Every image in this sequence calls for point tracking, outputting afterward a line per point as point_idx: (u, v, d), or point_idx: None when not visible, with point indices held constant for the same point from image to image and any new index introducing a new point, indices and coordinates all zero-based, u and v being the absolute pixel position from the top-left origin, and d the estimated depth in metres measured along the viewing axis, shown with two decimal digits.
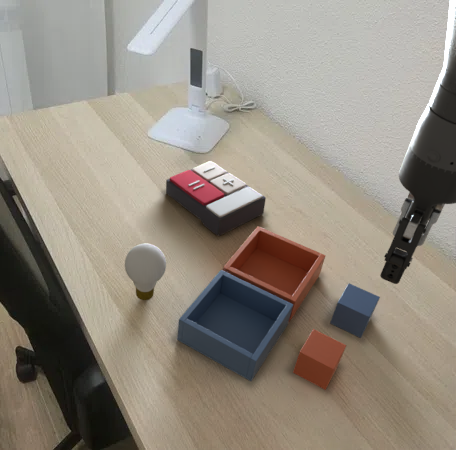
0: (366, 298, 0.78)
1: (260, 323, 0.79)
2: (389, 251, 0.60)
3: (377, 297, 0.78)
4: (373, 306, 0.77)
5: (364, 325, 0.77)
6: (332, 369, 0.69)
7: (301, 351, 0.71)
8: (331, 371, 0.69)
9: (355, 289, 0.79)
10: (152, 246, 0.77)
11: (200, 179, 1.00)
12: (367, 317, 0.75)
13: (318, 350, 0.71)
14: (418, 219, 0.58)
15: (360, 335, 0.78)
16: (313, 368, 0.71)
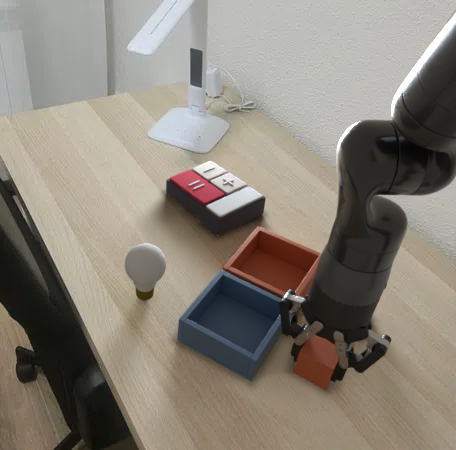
0: None
1: (260, 323, 0.79)
2: None
3: None
4: None
5: None
6: (332, 369, 0.69)
7: (301, 351, 0.71)
8: (331, 371, 0.69)
9: None
10: (152, 246, 0.77)
11: (200, 179, 1.00)
12: None
13: (318, 350, 0.71)
14: (293, 299, 0.69)
15: None
16: (313, 368, 0.71)
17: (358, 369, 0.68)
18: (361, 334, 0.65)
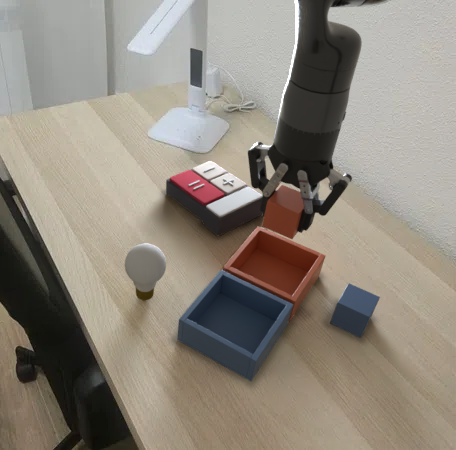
0: (366, 298, 0.78)
1: (260, 323, 0.79)
2: None
3: (377, 297, 0.78)
4: (373, 306, 0.77)
5: (364, 325, 0.77)
6: (297, 214, 0.73)
7: (269, 200, 0.74)
8: (296, 216, 0.73)
9: (355, 289, 0.79)
10: (152, 246, 0.77)
11: (200, 179, 1.00)
12: (367, 317, 0.75)
13: (285, 199, 0.75)
14: (261, 148, 0.73)
15: (360, 335, 0.78)
16: (280, 217, 0.74)
17: (322, 211, 0.71)
18: (323, 171, 0.68)
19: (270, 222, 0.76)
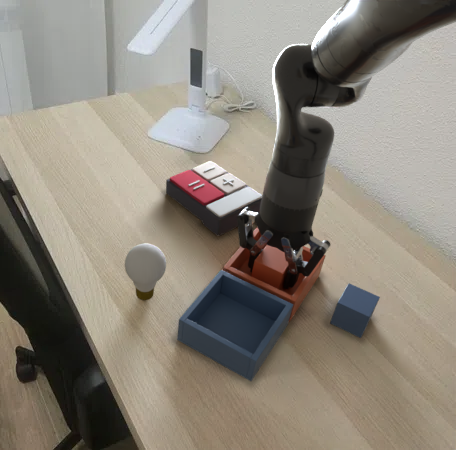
0: (366, 298, 0.78)
1: (260, 323, 0.79)
2: None
3: (377, 297, 0.78)
4: (373, 306, 0.77)
5: (364, 325, 0.77)
6: (281, 273, 0.80)
7: (256, 260, 0.82)
8: (280, 275, 0.81)
9: (355, 289, 0.79)
10: (152, 246, 0.77)
11: (200, 179, 1.00)
12: (367, 317, 0.75)
13: (271, 259, 0.82)
14: (249, 214, 0.81)
15: (360, 335, 0.78)
16: (266, 275, 0.82)
17: (305, 273, 0.79)
18: (303, 239, 0.76)
19: (257, 278, 0.84)
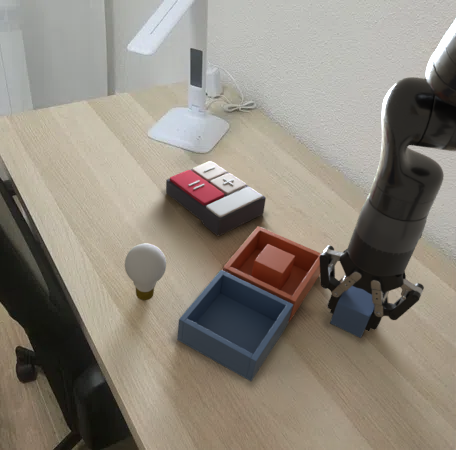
0: (366, 298, 0.78)
1: (260, 323, 0.79)
2: None
3: None
4: (373, 306, 0.77)
5: (364, 325, 0.77)
6: (281, 273, 0.80)
7: (256, 260, 0.82)
8: (280, 275, 0.81)
9: (355, 289, 0.79)
10: (152, 246, 0.77)
11: (200, 179, 1.00)
12: (367, 317, 0.75)
13: (271, 259, 0.82)
14: (333, 253, 0.76)
15: (360, 335, 0.78)
16: (266, 275, 0.82)
17: (392, 316, 0.74)
18: (397, 282, 0.71)
19: (257, 278, 0.84)
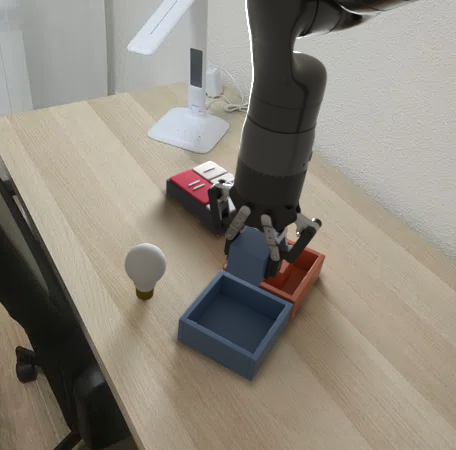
0: (264, 240, 0.67)
1: (260, 323, 0.79)
2: None
3: None
4: None
5: (260, 271, 0.66)
6: (281, 273, 0.80)
7: None
8: (280, 275, 0.81)
9: (253, 232, 0.69)
10: (152, 246, 0.77)
11: (200, 179, 1.00)
12: (261, 260, 0.65)
13: None
14: (222, 187, 0.65)
15: (257, 283, 0.67)
16: None
17: (289, 259, 0.64)
18: (289, 216, 0.61)
19: None
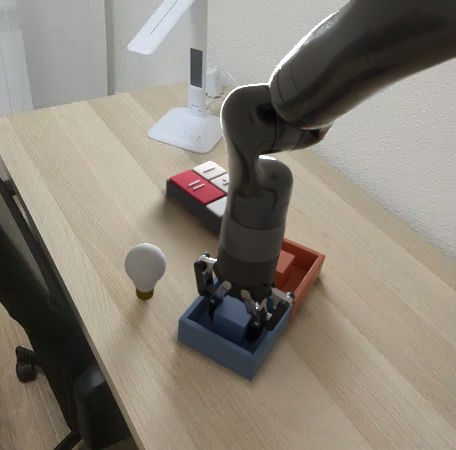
0: (245, 307, 0.75)
1: None
2: None
3: None
4: None
5: (240, 335, 0.74)
6: (281, 273, 0.80)
7: None
8: (280, 275, 0.81)
9: (235, 298, 0.76)
10: (152, 246, 0.77)
11: (200, 179, 1.00)
12: (241, 327, 0.73)
13: None
14: (207, 261, 0.73)
15: (239, 345, 0.75)
16: None
17: (268, 327, 0.71)
18: (265, 291, 0.68)
19: None
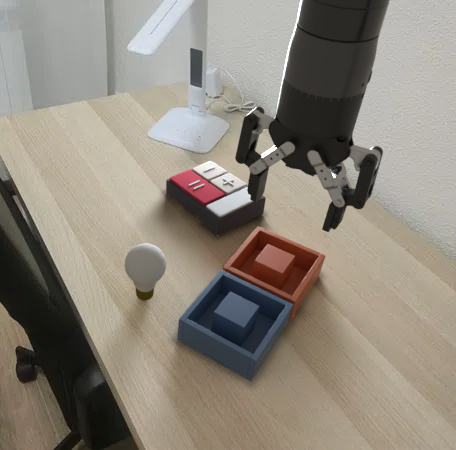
0: (245, 307, 0.75)
1: (260, 323, 0.79)
2: None
3: (256, 306, 0.75)
4: (250, 316, 0.74)
5: (240, 335, 0.74)
6: (281, 273, 0.80)
7: (256, 260, 0.82)
8: (280, 275, 0.81)
9: (235, 298, 0.76)
10: (152, 246, 0.77)
11: (200, 179, 1.00)
12: (241, 327, 0.73)
13: (271, 259, 0.82)
14: (262, 117, 0.56)
15: (239, 345, 0.75)
16: (266, 275, 0.82)
17: (357, 203, 0.54)
18: (340, 149, 0.52)
19: (257, 278, 0.84)
